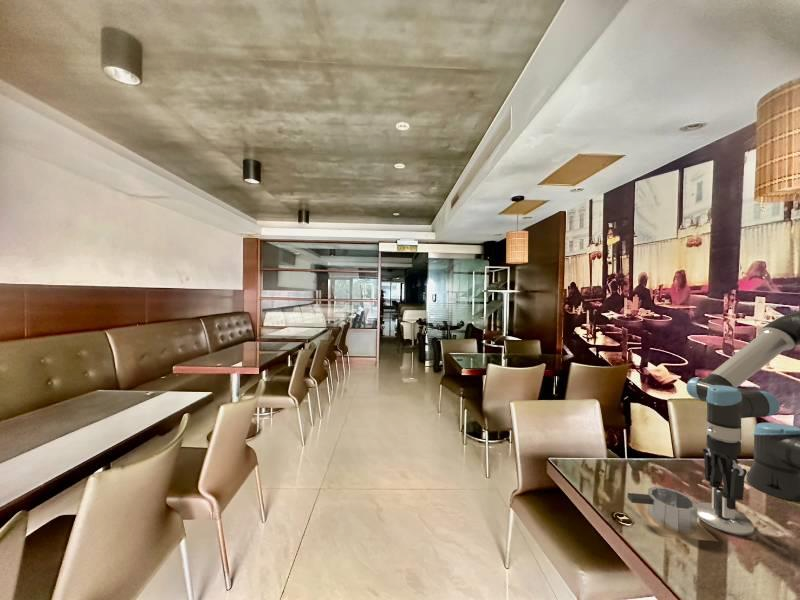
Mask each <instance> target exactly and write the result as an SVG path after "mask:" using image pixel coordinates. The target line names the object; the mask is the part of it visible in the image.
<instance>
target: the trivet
mask: <svg viewBox="0 0 800 600" xmlns="http://www.w3.org/2000/svg"><path fill="white" fill-rule="evenodd" d="M631 504H632V505H633V506H634V507H635V509H636V510H637V511H638V512H639V514H640V515H641V516H642V517H643V518H644V519H645V521H646V522H647V523H648V524H649V525H650V527H651V528H652V529H653V530H654V531H655V532H656V534H658V536H659V537H667V538H668V537H669V538H680V539H689V540H699V541H700V540H701V541H709V542H718V539H717V538H716V537H714V536H713V535H712V534H711V533H710V532H709V531H708V530H707V529H706V528H705V527H703V526H702V525H701V524H700V523H699V522H698V521H697V532H695V533H693V534H691V535H688V534H679V533H675V532H673V531H670V530H667V529H664V528H663V527H661V526H659V525H658V524H656V523H654V522H653V521H652V520H651V519H650V517H649V516H648V504H641V503H632V502H631Z"/></svg>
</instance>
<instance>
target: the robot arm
mask: <svg viewBox="0 0 800 600" xmlns="http://www.w3.org/2000/svg"><path fill="white" fill-rule="evenodd" d="M757 334H758V335H757V336H756V337H755V338H754V339H752V340H751V341H749V342H748V343H747V344H746V345H745V346H744V347H742V348H741V349H740V350H738V351H737V352H736V353H734V354H733V355H732V356H730V358H728V359H727V360H725V362H723V363H722V364H720V365H719V366H718V367H717V368H716V369H714V370H713V371H712V372H711V373H709V374H708V375H707V376H705V377H704V378H703V377H692V378H690V379H689V380H688V381H687V384H686V392H687V394H688V395H689V396H690V397H692V398H693V399H697V400H698V401H701V402H704V403H706V434H707V435H706V447H707V448H702V453H703V457H704V458H703V459H704V478H705V481H706V482H709V485H710V487H711V488H710V489H711V491H710V493H711V503H712V508H713V509H715V488H722V489H724V491H725V495H722V516H723V517H724V518H732V519H735V511H736V509H737V507H736V504H737V503H736V501H743V500H744V489H745V488H744V487H745V477H746V482H747V484H749V485H751V487H753V488H755V489H757V490H758V491H760V492H762V493H765V494H768V495H770V496H774V497H777V498H780V499H783V500H788V501H794V502H800V427H799V426H795V425H791V424H785V423H777V422H760V423H757V424H755V426H754V432H753V462H752V465H751V466H750V468H749V470H748V471H747V469H745V468H741V466H740V465H739V462H738V461H739V460H738V459H737V458H738V456H740V455H741V454H742V442H741V440H742V419H747V418H767V417H771V416H775V415H777V414H778V413H779V412H780V410H781V406H780V405H781V404H780V402H779V400H778V398H777V397H776V396H774V394H772V393H771V392H768V391H765V390H757V389H756V390H747V389H744V388H740V387H739V386H742V384H743V383H745V382H746V381H747V380H749V378H751V377H753V375H755V374H756V373H757V372H759V371H760V370H761V369H763V368H764V367H765V366H767V364H769V363H770V362H771V361H773V360H774V359H775V358H777V356H779V355H780V354H781V353H782V352H783V351H790V350H792V349H794V348H795V347H797V346H800V311H794V312H791V313H787V314H785V315H783V316H782V315H781V317H778V318H776V319H774V320H771V322H769V323H767V324H765V325H764V326H763V327H762V328H760V329H759V330H758V333H757ZM722 483H723V484H722Z"/></svg>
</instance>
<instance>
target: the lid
mask: <svg viewBox="0 0 800 600" xmlns="http://www.w3.org/2000/svg"><path fill="white" fill-rule="evenodd" d="M722 488H723V487H719V488H715V509H713V508H712V502H698V503H697V502H696V503H697V519H699V520H701V521H702V522H704V523H705V524H707V525H708V526H709V527H712V528H714V529H715V530H719V531H721V532H723V533H728V534H731V535H735V536H742V537H743V536H751V535H752V534H753V533H754V532H755V525H754V523H753V522H752V521H751V520H750V519H749V518H748V516H747V517H746V516H745V515H744V514H743V513H740V512H738V510H735V519H732V518H724V517H723V516H722V495H725V491H724V488H723V489H722Z"/></svg>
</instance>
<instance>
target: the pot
mask: <svg viewBox="0 0 800 600" xmlns="http://www.w3.org/2000/svg"><path fill="white" fill-rule="evenodd" d="M647 489H648V490H647V494H643V493H632V492H627V499H628V501H629V502H631V504H632V503H641V504H648V516H649V517H650V519H651V520H652V521H653V522H654V523H656V524H658V525H659V526H661V527H663V528H664V529H667V530H670V531H673V532H675V533H679V534H688V535H691V534H693V533H695V532H697V522H698V517H697V502H696V501H695V500H694V499H692V497H690V496H689V495H687V494H685V493H682V492H681V491H679V490H676V489H672V488H669V487H663V486H652V487H649V488H647Z"/></svg>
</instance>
